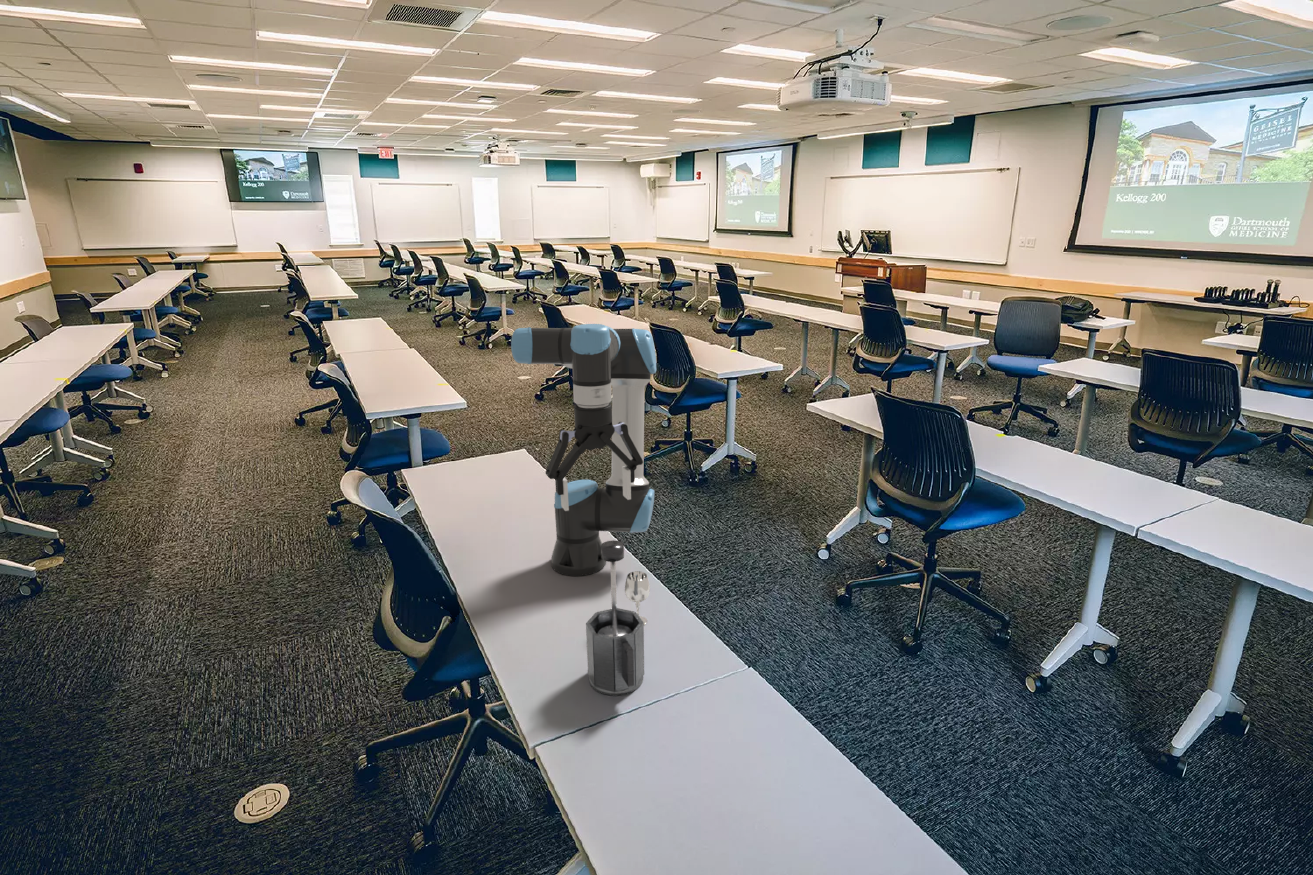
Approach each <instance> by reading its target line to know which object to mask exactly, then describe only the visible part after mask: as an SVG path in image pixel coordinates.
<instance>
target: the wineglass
mask: <svg viewBox="0 0 1313 875" xmlns="http://www.w3.org/2000/svg"><path fill="white" fill-rule="evenodd" d="M650 587H651V586H650V580H649V577H648V574H647V573H646V572H644V571H640V570H637V571H631V572H629V573H628V574H627V575H626V579H625V584H624V592H625V596H626V598H627V599H628V600H629V601H630V602H632V603H635V608H636V613H637V614H638V616H639V617H640V618H641V620H642V621H643V622H644V626H646V625H647V624H648V619H647V618H646V617H645V616H641V615H640V612H639V611H640V610H639V609H640V606H641V604H640V603H641V602H644V601H646V600H647V599H648V597H649V595H650V591H651V588H650Z"/></svg>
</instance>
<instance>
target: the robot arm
mask: <svg viewBox="0 0 1313 875" xmlns="http://www.w3.org/2000/svg"><path fill="white" fill-rule="evenodd" d="M510 345H511V346H510V347H511V348H510V349H511V354H512V358H513V359H514V360H513V361H515V362H516V363H518V364H525V365H526V364H527V365H562V366H564V367H565V368H568V369H572V386H573V387H572V388H573V403H575V405H574V406H573V410H574V429H573V430H565V429H562V428H561V429H560V430H559V433H558V442H557V444H556V446H555V449H554V451H553V453H552V456H551V458H550V461H549V462H548V466H547V468H546V469H545V476H547V477H548V479H550V480H554V481H555V492H554V504H553V507H554V514H555V515H554V517H555V532H556V540H555V544H554V547H553V550H552V553H551V558H550V560H551V567H552V569H553V571H555V572H557V573H559V574H561V575H565V576H571V577H582V576H587V575H591V574H592V575H593V574H595V573H598V572H599V571H601V570H602V569H603V568H605V567H606V565H607V561H604V560H603V559H602V558H601V545H602V543H603V542H602V540H601V537H600V532H614V533H615V532H617V533H619V532H620V533H630V534H632V533H645V532H646V531H647V530H648V529H649V527H650V523H651V520H652V515H653V509H654V505H655V504H654V502H655V489H652V488H650V482H649V481H648V479H647V478H646V477H645V476H644V475H645V474H644V470H645V469H644V467H645V466H644V465H645V464H644V463H645V461H644V455H645V450H644V449H645V446H644V445H645V390H646V389H645V387H646V386H647V385H648V384H649V383H650V382H651V375H654V374H656V372H657V357H656V349H655V342H654V338H653V335H652V333H651V331H649V330H648V329H640V328H612V327H611V326H608V325H605V324H602V323H586V324H585V323H581V324H577V325H574V326H573V327H561V328H558V327H556V328H555V327H530V326H529V327H519V328H515V330H514V331H513V333H512V335H511V342H510ZM611 403H612V404H611ZM573 438H575V442H574V444H573V445H572V448H571V450H570V451H569V452H568V454H566V451H567V448H568V445H569V443H570V442H571V441H572V440H573ZM606 446H607V447H608V448H609V449H610V450H611V474H610V475H611V476H610V477H609V478H608V479H607V480H606V481H605V487H599V484H598V483H597V482H596V481H595V480H592V479H576V480H573V481H569V482H568V480H567V478H566V476H567V475H568V473H569V472H570V470H571V469H572V468H573V467H574V465H575V463H576V462H577V460H578V459H579V458H580V456H581V455H582V454H584V453H585V451H586V450H587V451H593V450H596V449H598V450H601V449H604V448H605V447H606ZM565 454H566V456H565ZM564 456H565V458H564ZM563 458H564V460H563ZM562 460H563V461H562Z"/></svg>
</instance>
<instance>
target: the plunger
mask: <svg viewBox="0 0 1313 875" xmlns="http://www.w3.org/2000/svg"><path fill="white" fill-rule="evenodd" d="M601 558H602V559H603V560H604V561H606V562H607V563H608V562H609V563H610V589H611V592H610V594H611V598H610V599H611V609H612V625H609V626H606V627H603V628H602V629H600V630H599V632H598V634H601V635H606V636H610V637H617V636H621V635H625V634H629V633H632V630H631V629H630V628H628V627H627V626H624V625H617V608H618V602H617V601H618V600H617V570H616V568H617V566H616V564H617V562H619V561H622V560H623V559H624V558H625V545H624V543H623V542H622V541H619V540H607V541H603V542H602V545H601Z"/></svg>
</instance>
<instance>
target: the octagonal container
mask: <svg viewBox="0 0 1313 875" xmlns="http://www.w3.org/2000/svg"><path fill="white" fill-rule="evenodd" d="M639 616H640V615H639ZM639 616H638V614H637V611H633V610H629V609H624V608H619V607H617V625H624V626H627V627H628V628H630V629H631V630H632V633H629V634H625V635H621V636H617V637H610V636H606V635H601V634H598V632H599V630H600V629H602V628H603V627H606V626H609V625H612V608H610V609H604V610H600V611H597V612H595V613H594V614H593V615H592V616H591V617H590V618H589V619H588V621H587V622H586V623H585V633H586V654H587V655H586V659H587V660H586V661H587V676H588V679H589V685H590V687H591V688H592V689H593V690H594V691H595V692H597V693H599V694H601V695H604V696H610V697H619V696H625V695H628V694H631V693H633V692H635V691H637V690H638V689H639V688H640V687H641V685H642V684H643V681H644V675H645V634H644V633H645V632H644V631H645V630H644V626H645V625H644V622H643V621H642V620H641V618H640V617H639Z"/></svg>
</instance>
